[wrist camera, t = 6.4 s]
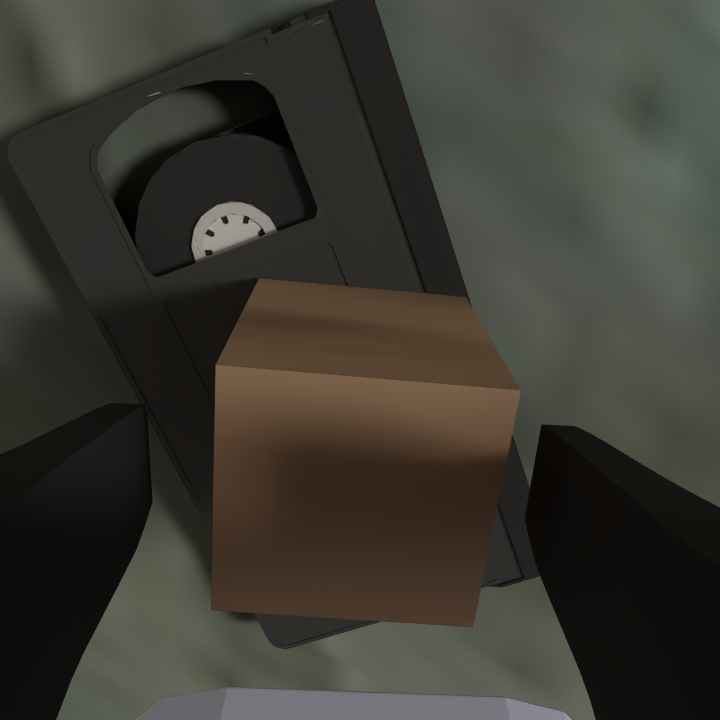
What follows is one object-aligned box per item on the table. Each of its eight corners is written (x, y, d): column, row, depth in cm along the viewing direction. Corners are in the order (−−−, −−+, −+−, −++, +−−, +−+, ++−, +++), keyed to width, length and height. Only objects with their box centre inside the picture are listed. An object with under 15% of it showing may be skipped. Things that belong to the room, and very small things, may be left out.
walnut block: (436, 474, 16) (472, 627, 11) (251, 460, 16) (210, 610, 11) (465, 296, 14) (521, 390, 10) (259, 278, 14) (215, 364, 10)
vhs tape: (40, 135, 15) (-4, 140, 13) (367, 1, 14) (369, -14, 12) (282, 603, 20) (275, 654, 18) (535, 525, 19) (555, 571, 17)
